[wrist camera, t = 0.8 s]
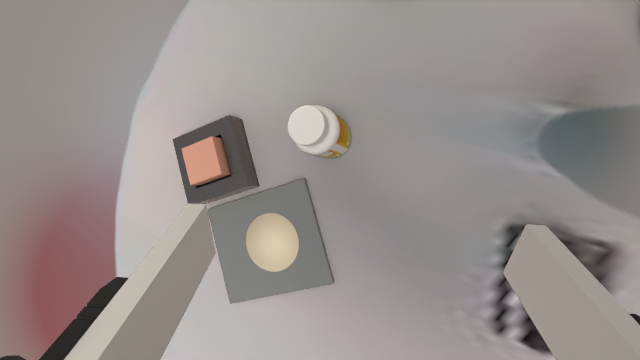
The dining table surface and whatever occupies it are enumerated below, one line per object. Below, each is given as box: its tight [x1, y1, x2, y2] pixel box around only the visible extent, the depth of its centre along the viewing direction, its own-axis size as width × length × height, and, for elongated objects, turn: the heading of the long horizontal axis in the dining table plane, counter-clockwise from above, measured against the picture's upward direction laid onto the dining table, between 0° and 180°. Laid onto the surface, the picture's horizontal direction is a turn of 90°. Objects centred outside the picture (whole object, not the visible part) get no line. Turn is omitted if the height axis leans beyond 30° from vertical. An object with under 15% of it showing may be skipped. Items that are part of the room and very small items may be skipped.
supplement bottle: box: [288, 105, 352, 158], centre depth 34 cm, size 5×5×10 cm
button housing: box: [173, 115, 259, 204], centre depth 42 cm, size 10×10×3 cm
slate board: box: [207, 179, 334, 304], centre depth 41 cm, size 16×14×1 cm
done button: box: [182, 136, 230, 185], centre depth 40 cm, size 5×5×2 cm
